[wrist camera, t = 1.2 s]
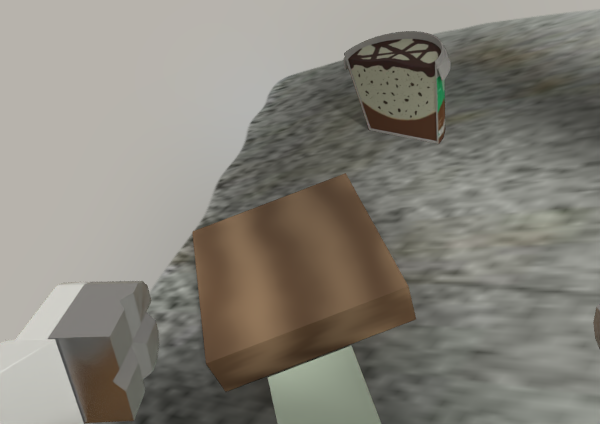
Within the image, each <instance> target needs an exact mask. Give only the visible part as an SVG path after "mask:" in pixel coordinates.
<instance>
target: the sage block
mask: <svg viewBox="0 0 600 424" xmlns="http://www.w3.org/2000/svg"><path fill="white" fill-rule="evenodd" d="M268 381H269V386H270V390H271V395H272V400H273V405H274V409H275V414H276V419H277V424H381V421H380V419H379V416H378V413H377V411H376V408H375V406H374V403H373V400H372V398H371V395H370V393H369V390H368V387H367V385H366V382H365V380H364V377H363V374H362V372H361V369H360V367H359V364H358V361H357V359H356V356H355V354H354V351H353V348H352V346H349V347H346V348H343V349H341V350H338V351H336V352H333V353H330V354H328V355H325V356H323V357H320V358H317V359H315V360H312V361H309V362H307V363H304V364H302V365H299V366H296V367H294V368H291V369H289V370H286V371H283V372H281V373H278V374H275V375H273V376H270V377H268Z"/></svg>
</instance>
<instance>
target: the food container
mask: <svg viewBox="0 0 600 424" xmlns="http://www.w3.org/2000/svg"><path fill="white" fill-rule="evenodd" d="M344 55H345V58H344V70H346V69H347V68H349V71H350V74H351V77H352V80H353V83H354V86H355V89H356V92H357V95H358V98H359V101H360V104H361V107H362V110H363V113H364V116H365V119H366V122H367V125H368V128H369V130H370V131H375V132H380V133H386V134H391V135H396V136H401V137H406V138H411V139H416V140H421V141H426V142H431V143H436V144H439V143H440V142H441V140H442V139H443V137H444V133H445V86H444V79H445V78H446V76H447V75H448V73H449V71H450V67H451V64H450V59H449V57H448V54H447V51H446V49H445V47H444V45H443V44H442V42H441V41H440V40H439V39H438V38H437V37H436V36H434V35H431V34H428V33H424V32H415V31H406V32H396V33H390V34H385V35H382V36H378V37H375V38H372V39H369V40H366V41H364V42H362V43H360V44H358V45H356V46H354V47H352V48H351V49H349V50H348V51H346V52H345V53H344Z"/></svg>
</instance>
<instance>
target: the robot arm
mask: <svg viewBox="0 0 600 424" xmlns="http://www.w3.org/2000/svg"><path fill="white" fill-rule="evenodd" d="M150 303H151V297H150V294H149V290H148V286H147V285H146V284H145V283H144V282H143V281H119V282H70V283H62V284H59V285H57V286H56V287H55V288H54V290H53V291H52V292H51V293H50V295H49V296H48V297H47V299H46V300H45V301H44V303H43V304H42V305H41V307H40V308H39V309H38V310H37V312H36V313H35V314H34V316H33V317H32V318H31V320H30V321H29V322H28V324H27V325H26V326H25V327H24V329H23V330H22V331H21V333H20V334H19V335H18V337H17V338H16V339H15V340H6V341H4V342H2V343H1V344H0V424H84V423H99V422H120V421H134V420H135V417H136V414H137V412H138V409H139V407H140V404H141V401H142V399H143V396H144V394H145V391H146V390H145V386H144V382H143V379H144V378H146V377H147V376H148V375H149V374H151V373H152V372H153V370H154V367H155V364H156V362H157V357H158V349H159V333H158V327H157V323H156V320H155V319H154V318H153V317H152V316H151V315H150V314H148V313H147V309H148V307H149V305H150ZM594 331H595V339H596V341H597V344H598V346H599V349H600V304H599V305H598V306H597V307H596V312H595V317H594Z"/></svg>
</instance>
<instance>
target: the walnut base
mask: <svg viewBox="0 0 600 424" xmlns="http://www.w3.org/2000/svg"><path fill="white" fill-rule="evenodd" d="M193 242H194V252H195V261H196V271H197V281H198V290H199V300H200V310H201V319H202V329H203V339H204V348H205V358H206V364H207V366H208V367H209V368H210V370H211V371H212V373H213V374H214V376H215V377H216V378H217V380H218V381H219V383H220V384H221V386H222V387H223V388H224V390H225V391H226V392H227V391H229V390H232V389H235V388H237V387H240V386H242V385H245V384H248V383H250V382H253V381H256V380H258V379H261V378H263V377H266V376H269V375H271V374H274V373H277V372H279V371H282V370H284V369H287V368H290V367H292V366H295V365H297V364H300V363H303V362H305V361H308V360H311V359H313V358H316V357H318V356H321V355H324V354H326V353H329V352H332V351H334V350H337V349H339V348H342V347H345V346H347V345H350V344H353V343H355V342H358V341H360V340H363V339H366V338H368V337H371V336H373V335H376V334H379V333H381V332H384V331H387V330H389V329H392V328H394V327H397V326H400V325H402V324H405V323H408V322H410V321H413V320H415V319H416V317H415V313H414V308H413V304H412V300H411V296H410V291H409V287H408V285H407V283H406V281H405V280H404V278H403V276H402V274H401V272H400V271H399V269H398V267H397V265H396V263H395V261H394V260H393V258H392V256H391V254H390V252H389V251H388V249H387V247H386V245H385V243H384V242H383V240H382V238H381V236H380V234H379V233H378V231H377V229H376V227H375V225H374V224H373V222H372V220H371V218H370V216H369V215H368V213H367V211H366V209H365V207H364V206H363V204H362V202H361V200H360V198H359V197H358V195H357V193H356V191H355V189H354V187H353V186H352V184H351V182H350V180H349V178H348V177H347V175H346V173H345V174H343V175H340V176H337V177H335V178H332V179H329V180H327V181H324V182H322V183H319V184H316V185H314V186H311V187H308V188H306V189H303V190H301V191H298V192H295V193H293V194H290V195H287V196H285V197H282V198H280V199H277V200H274V201H272V202H269V203H266V204H264V205H261V206H259V207H256V208H253V209H251V210H248V211H245V212H243V213H240V214H238V215H235V216H232V217H230V218H227V219H224V220H222V221H219V222H217V223H214V224H211V225H209V226H206V227H203V228H201V229H198V230H196V231H193Z"/></svg>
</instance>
